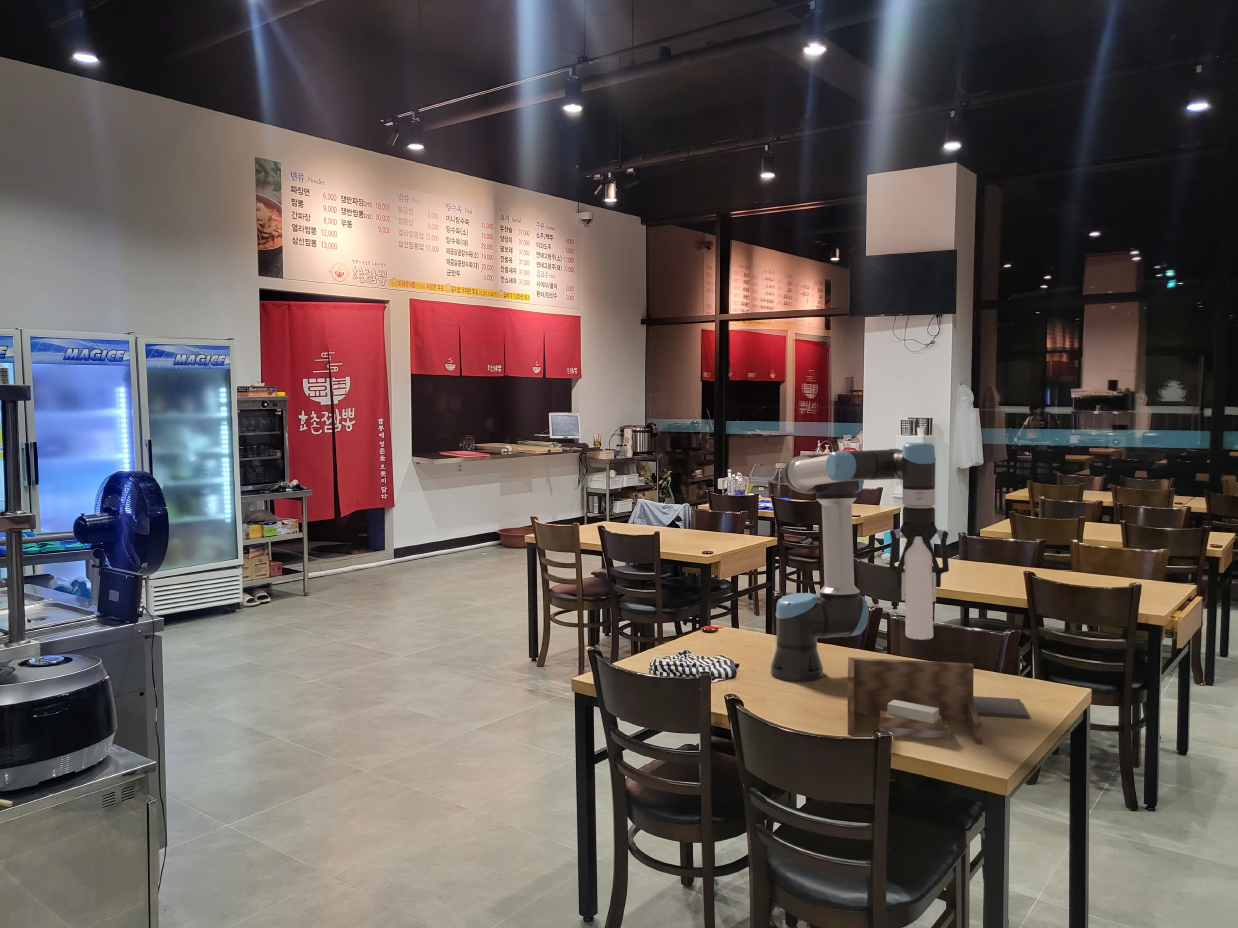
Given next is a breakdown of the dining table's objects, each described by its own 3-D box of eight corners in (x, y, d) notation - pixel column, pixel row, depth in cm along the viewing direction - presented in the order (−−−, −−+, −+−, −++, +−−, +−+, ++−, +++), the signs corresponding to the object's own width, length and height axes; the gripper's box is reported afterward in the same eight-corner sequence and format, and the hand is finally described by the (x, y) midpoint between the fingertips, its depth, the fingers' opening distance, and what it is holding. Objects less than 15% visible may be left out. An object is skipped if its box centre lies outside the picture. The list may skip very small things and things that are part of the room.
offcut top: (887, 713, 216) (887, 703, 216) (893, 709, 219) (893, 699, 219) (933, 723, 209) (933, 712, 209) (938, 718, 212) (939, 708, 212)
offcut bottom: (879, 737, 214) (879, 727, 214) (878, 731, 218) (878, 721, 218) (950, 741, 211) (950, 730, 211) (947, 735, 215) (947, 724, 215)
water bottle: (939, 637, 218) (937, 535, 217) (920, 641, 215) (918, 538, 214) (911, 630, 226) (909, 531, 225) (892, 634, 223) (891, 534, 221)
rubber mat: (972, 714, 227) (972, 711, 227) (966, 698, 239) (966, 695, 239) (1028, 718, 224) (1028, 715, 223) (1019, 701, 236) (1019, 698, 236)
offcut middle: (880, 726, 214) (880, 716, 214) (879, 721, 218) (879, 711, 218) (942, 730, 211) (942, 720, 211) (940, 725, 215) (940, 714, 215)
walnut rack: (847, 734, 215) (847, 676, 214) (848, 710, 232) (848, 657, 231) (981, 743, 207) (981, 684, 206) (972, 718, 224) (972, 663, 223)
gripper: (877, 507, 217) (877, 601, 219) (962, 508, 212) (962, 604, 214) (877, 504, 225) (877, 594, 226) (959, 504, 219) (959, 598, 221)
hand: (918, 599), depth 220 cm, fingers closed on water bottle, 6 cm apart
